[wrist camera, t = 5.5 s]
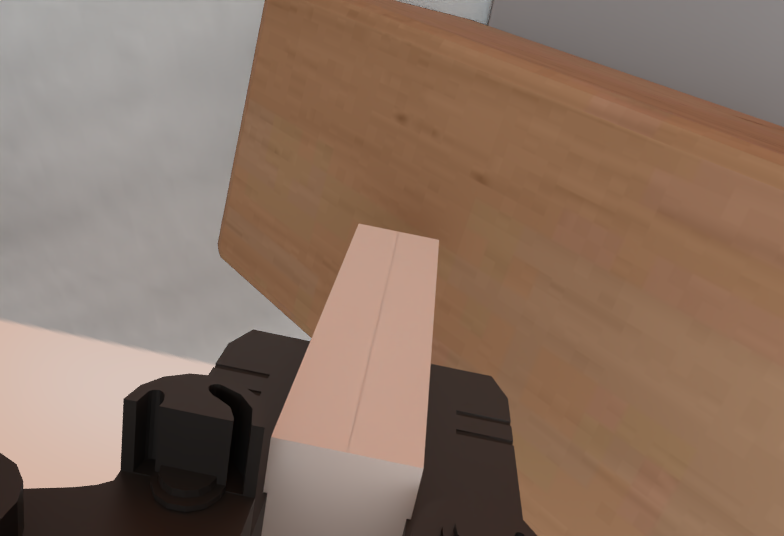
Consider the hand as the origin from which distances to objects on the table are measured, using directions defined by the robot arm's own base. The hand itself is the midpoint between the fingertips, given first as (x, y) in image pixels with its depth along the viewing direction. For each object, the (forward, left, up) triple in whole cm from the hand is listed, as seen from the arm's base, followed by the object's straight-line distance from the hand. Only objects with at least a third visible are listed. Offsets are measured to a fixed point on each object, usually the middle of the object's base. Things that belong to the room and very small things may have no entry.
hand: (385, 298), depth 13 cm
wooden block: (-3, 0, -15) cm, 15 cm away
